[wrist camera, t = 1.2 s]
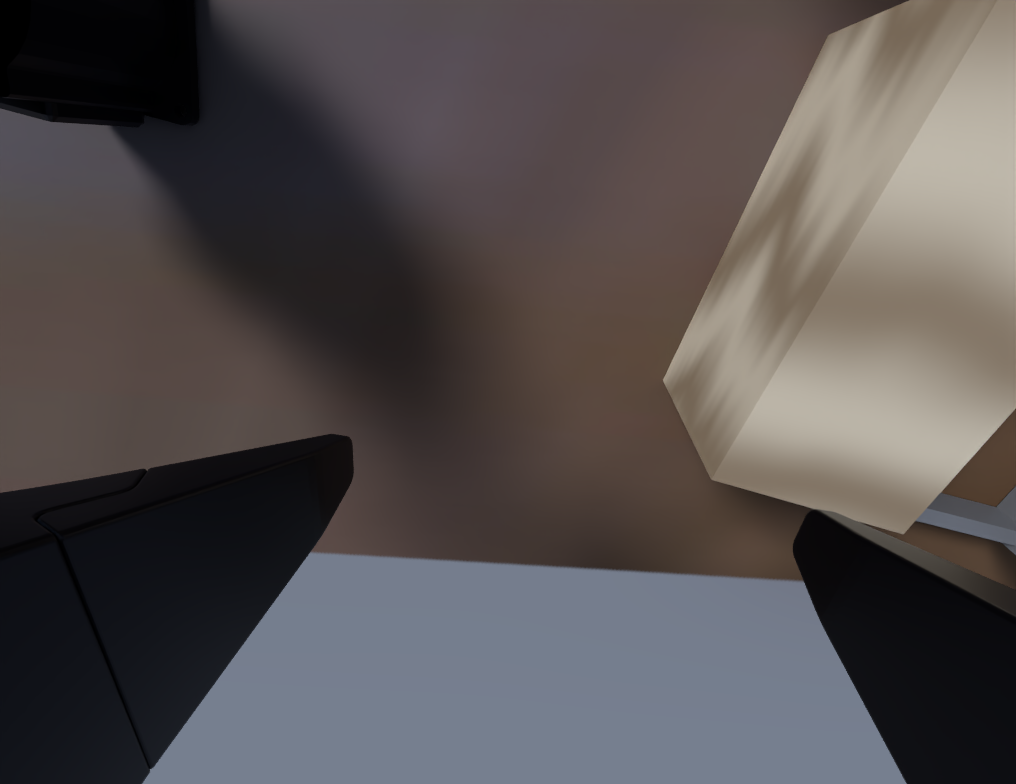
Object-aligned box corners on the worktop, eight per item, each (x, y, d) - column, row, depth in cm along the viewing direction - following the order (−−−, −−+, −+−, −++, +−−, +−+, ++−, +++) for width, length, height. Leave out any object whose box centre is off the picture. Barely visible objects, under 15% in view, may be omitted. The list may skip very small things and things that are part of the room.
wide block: (826, 35, 17) (1027, -50, 10) (1006, 96, 17) (1328, 56, 10) (662, 378, 23) (711, 479, 16) (796, 418, 24) (903, 534, 16)
